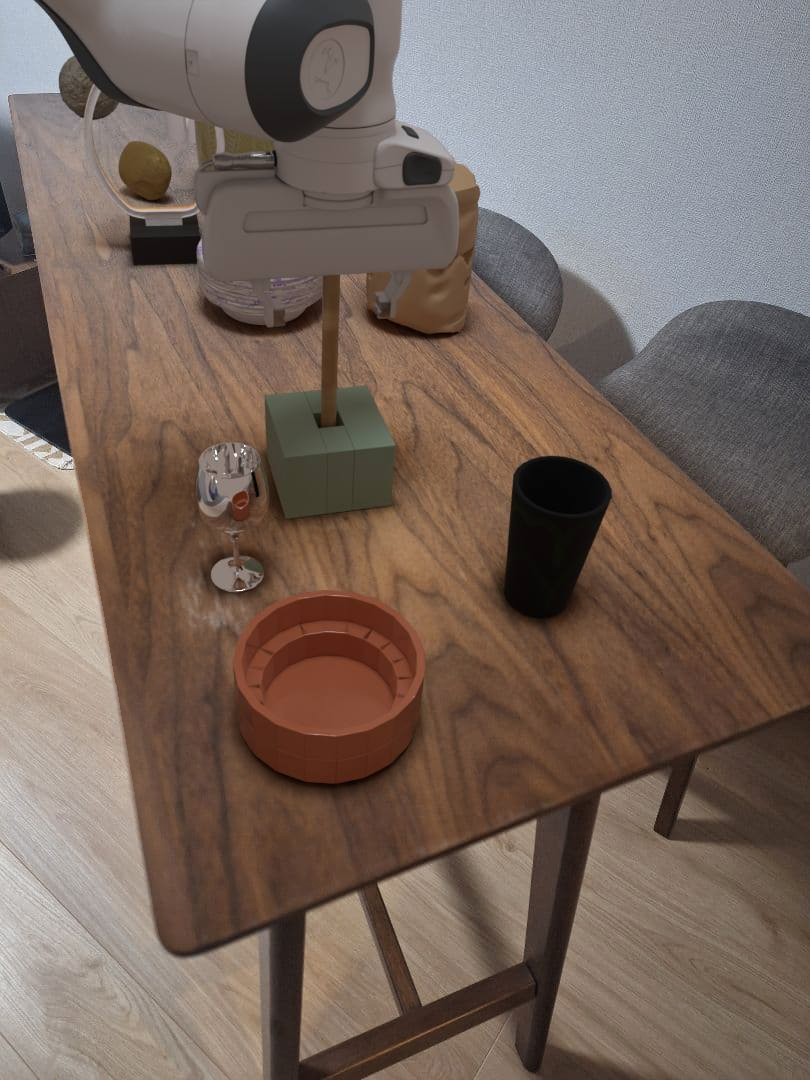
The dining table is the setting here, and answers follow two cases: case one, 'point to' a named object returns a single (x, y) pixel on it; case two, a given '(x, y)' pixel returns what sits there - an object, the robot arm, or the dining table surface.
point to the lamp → (151, 211)
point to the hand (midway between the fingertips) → (330, 319)
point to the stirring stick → (330, 349)
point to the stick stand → (328, 453)
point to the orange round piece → (328, 685)
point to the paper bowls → (245, 303)
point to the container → (439, 272)
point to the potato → (145, 170)
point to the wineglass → (232, 507)
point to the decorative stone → (81, 91)
